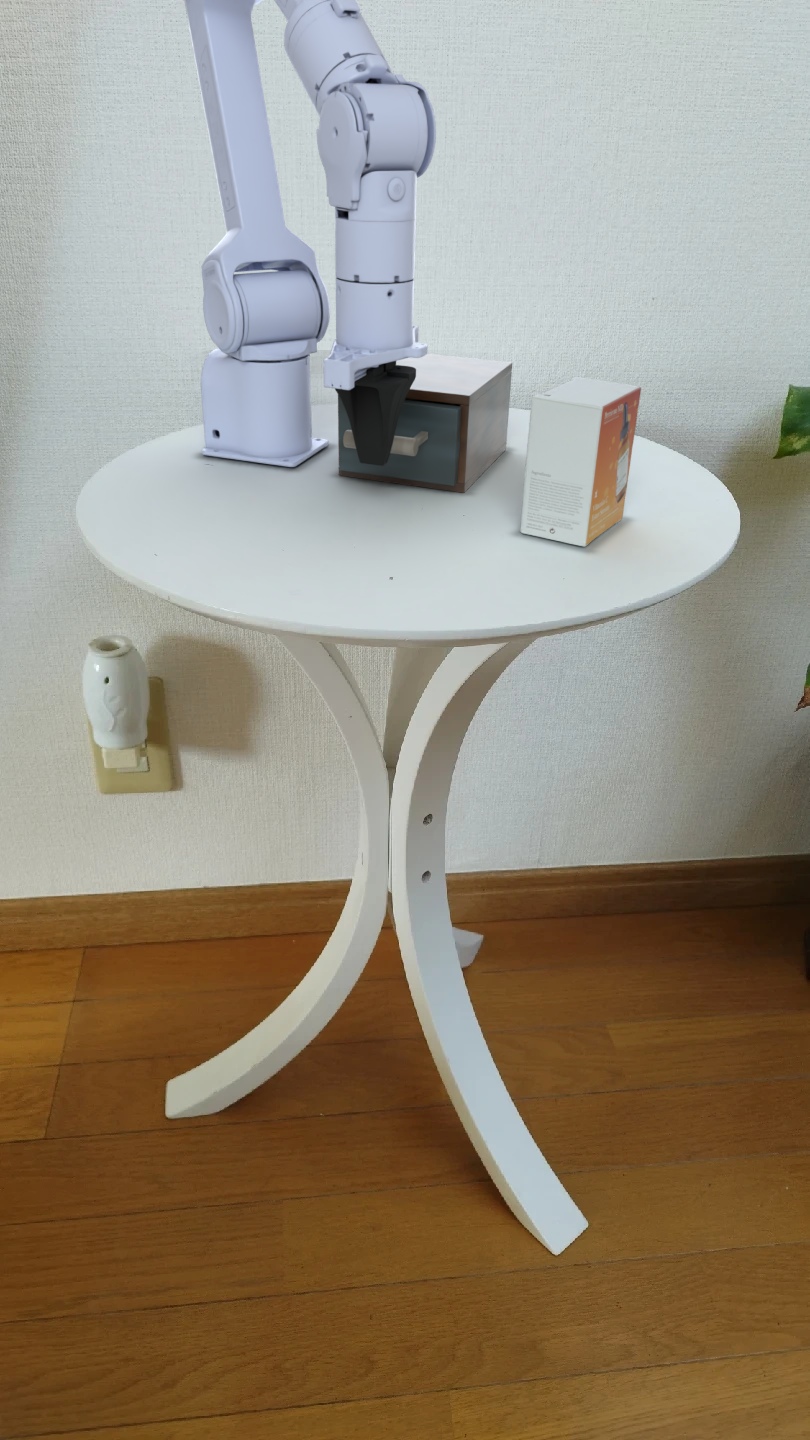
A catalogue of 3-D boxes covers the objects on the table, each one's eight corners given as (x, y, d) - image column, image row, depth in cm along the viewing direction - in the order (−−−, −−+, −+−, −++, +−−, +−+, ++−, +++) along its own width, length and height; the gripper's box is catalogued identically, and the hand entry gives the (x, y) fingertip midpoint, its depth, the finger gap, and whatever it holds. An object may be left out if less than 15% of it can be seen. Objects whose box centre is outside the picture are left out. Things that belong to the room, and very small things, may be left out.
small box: (585, 550, 76) (602, 407, 70) (517, 534, 78) (529, 394, 73) (624, 519, 82) (644, 385, 76) (561, 505, 84) (575, 374, 79)
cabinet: (464, 493, 86) (469, 395, 82) (338, 475, 89) (337, 380, 85) (506, 449, 97) (512, 362, 93) (392, 435, 100) (394, 350, 96)
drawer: (437, 502, 81) (440, 423, 78) (318, 484, 84) (317, 408, 81) (494, 446, 95) (498, 376, 92) (390, 433, 98) (391, 365, 95)
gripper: (391, 297, 67) (388, 497, 74) (457, 269, 78) (449, 444, 85) (293, 288, 69) (299, 484, 76) (372, 262, 80) (371, 434, 87)
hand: (373, 462), depth 81 cm, fingers closed
